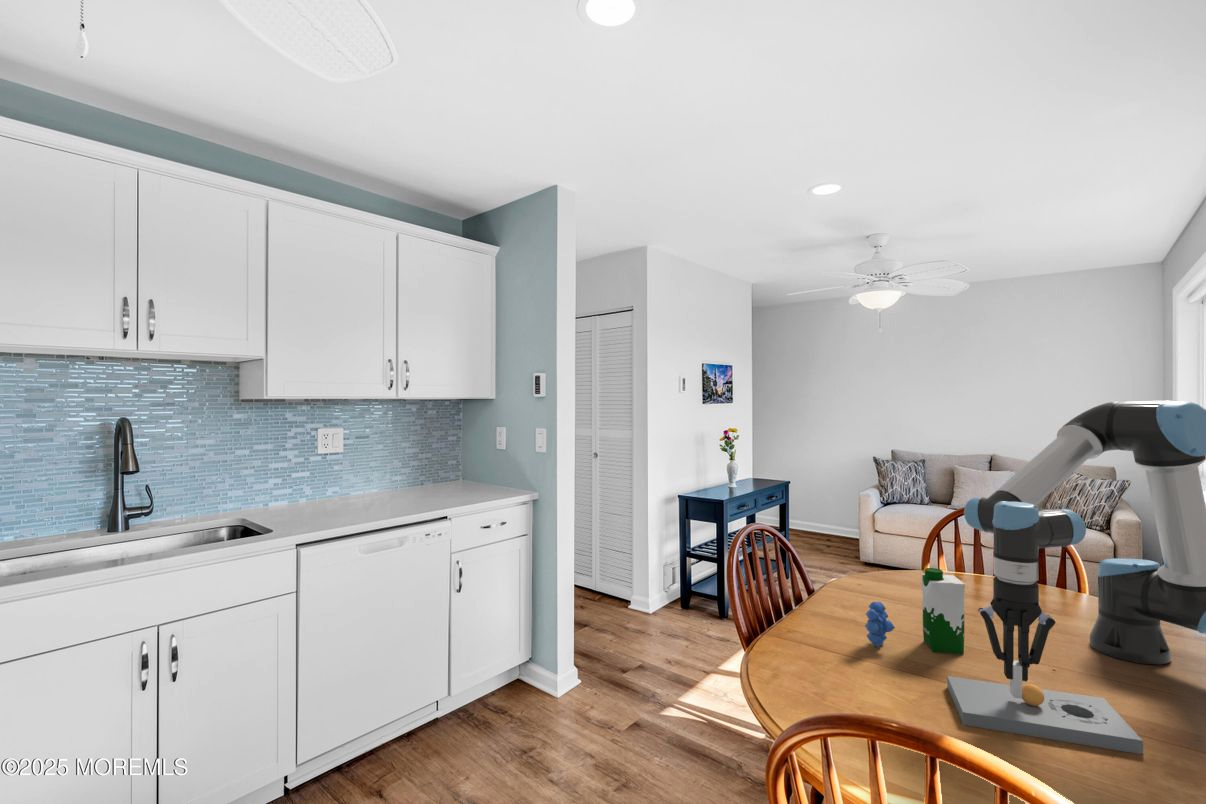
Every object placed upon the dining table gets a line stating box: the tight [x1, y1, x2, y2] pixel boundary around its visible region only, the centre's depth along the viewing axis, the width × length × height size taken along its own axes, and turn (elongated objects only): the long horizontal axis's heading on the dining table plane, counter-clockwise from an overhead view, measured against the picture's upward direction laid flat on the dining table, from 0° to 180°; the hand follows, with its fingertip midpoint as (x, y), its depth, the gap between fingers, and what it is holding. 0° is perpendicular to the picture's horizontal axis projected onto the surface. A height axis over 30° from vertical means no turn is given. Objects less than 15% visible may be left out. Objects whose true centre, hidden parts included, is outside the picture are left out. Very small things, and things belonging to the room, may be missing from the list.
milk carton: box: [920, 567, 966, 656], centre depth 150 cm, size 9×9×20 cm
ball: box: [1022, 683, 1044, 706], centre depth 117 cm, size 4×4×4 cm
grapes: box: [864, 601, 896, 648], centre depth 151 cm, size 12×7×12 cm, turn 139°
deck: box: [946, 675, 1144, 755], centre depth 117 cm, size 28×16×2 cm, turn 69°
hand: (1015, 694), depth 118 cm, fingers closed
